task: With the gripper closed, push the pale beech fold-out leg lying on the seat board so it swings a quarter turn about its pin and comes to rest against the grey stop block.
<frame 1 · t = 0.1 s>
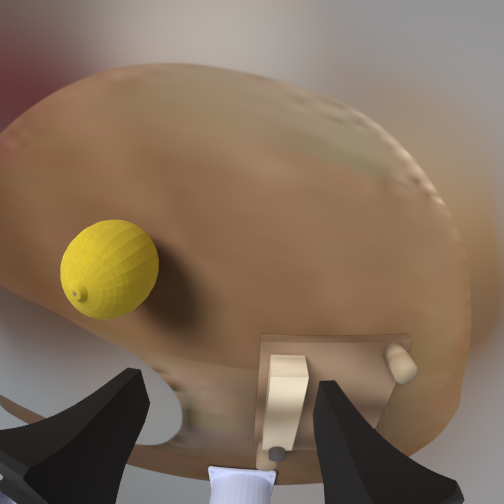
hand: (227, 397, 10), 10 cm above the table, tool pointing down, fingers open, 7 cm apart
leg: (281, 414, 19), point 3 cm above the table, hinge at 0.0°
seat board: (324, 399, 22), on the table
lemon: (139, 248, 19), on the table
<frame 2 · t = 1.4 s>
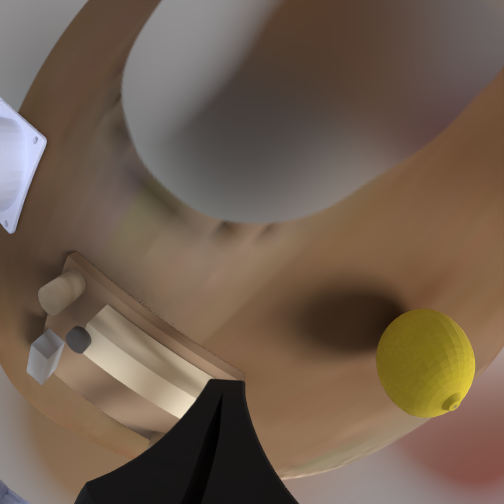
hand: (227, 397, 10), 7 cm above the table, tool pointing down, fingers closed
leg: (143, 370, 15), point 3 cm above the table, hinge at 0.0°
seat board: (123, 366, 19), on the table
lemon: (398, 325, 17), on the table
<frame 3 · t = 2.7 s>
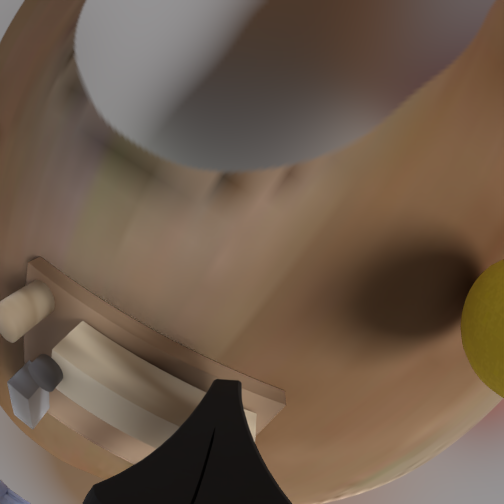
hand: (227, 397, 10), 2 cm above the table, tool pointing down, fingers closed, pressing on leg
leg: (140, 408, 10), point 3 cm above the table, hinge at 1.8°, touching gripper
seat board: (124, 399, 14), on the table
lemon: (472, 289, 11), on the table
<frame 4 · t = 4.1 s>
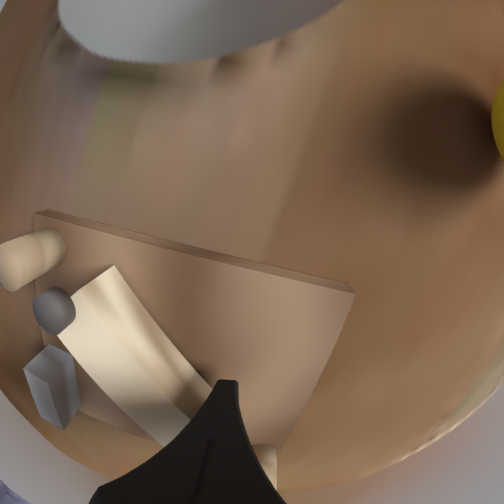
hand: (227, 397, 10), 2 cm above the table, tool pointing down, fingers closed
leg: (142, 382, 10), point 3 cm above the table, hinge at 44.6°, touching gripper
seat board: (162, 361, 13), on the table
lemon: (495, 133, 9), on the table
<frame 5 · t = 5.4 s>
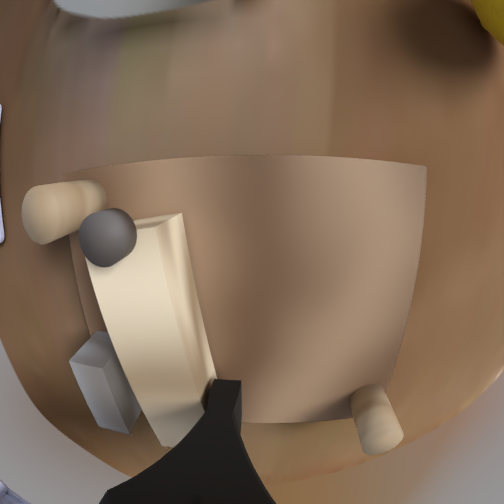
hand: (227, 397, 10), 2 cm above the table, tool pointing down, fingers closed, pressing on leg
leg: (159, 347, 9), point 3 cm above the table, hinge at 83.4°, touching gripper
seat board: (239, 309, 12), on the table
lemon: (481, 26, 7), on the table
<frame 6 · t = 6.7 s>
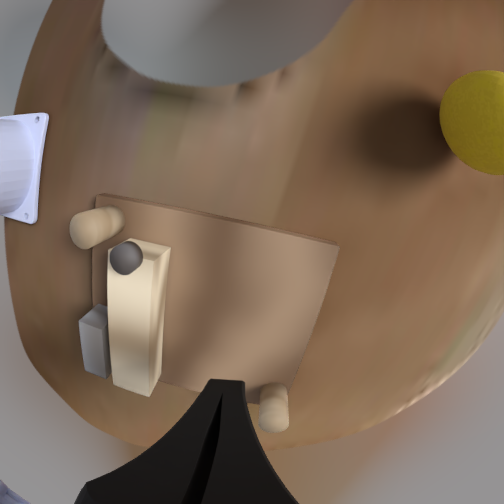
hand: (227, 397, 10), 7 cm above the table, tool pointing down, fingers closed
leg: (134, 321, 15), point 3 cm above the table, hinge at 89.5°
seat board: (196, 310, 17), on the table
lemon: (450, 128, 13), on the table
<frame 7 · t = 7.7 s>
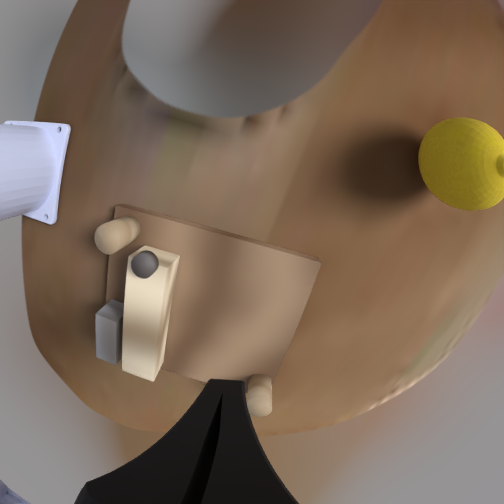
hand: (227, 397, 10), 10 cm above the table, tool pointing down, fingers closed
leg: (145, 316, 17), point 3 cm above the table, hinge at 89.5°
seat board: (197, 308, 20), on the table
lemon: (429, 162, 17), on the table
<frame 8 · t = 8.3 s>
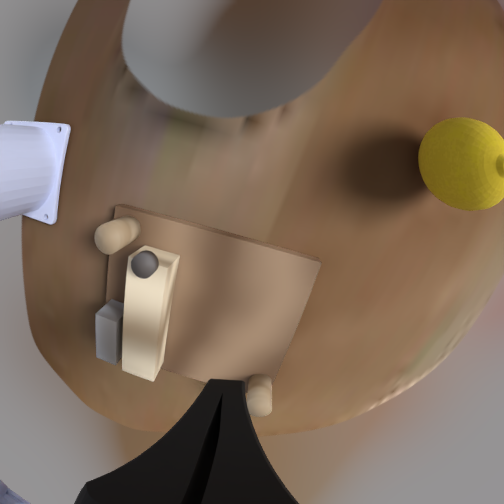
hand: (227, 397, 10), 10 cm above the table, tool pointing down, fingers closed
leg: (145, 316, 17), point 3 cm above the table, hinge at 89.5°
seat board: (197, 308, 20), on the table
lemon: (429, 162, 17), on the table
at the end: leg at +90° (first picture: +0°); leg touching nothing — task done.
